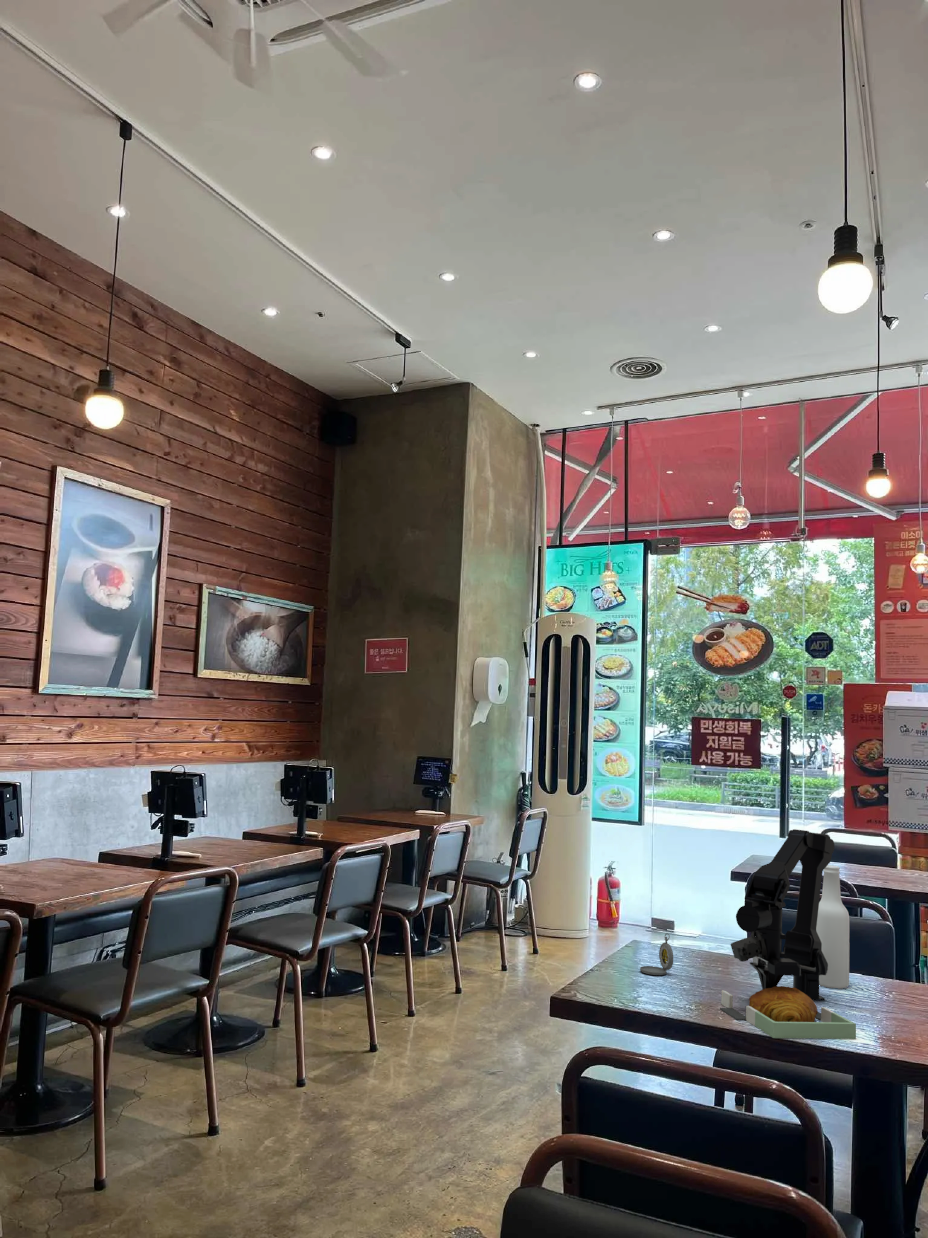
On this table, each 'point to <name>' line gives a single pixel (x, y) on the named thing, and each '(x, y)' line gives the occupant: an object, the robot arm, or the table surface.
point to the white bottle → (833, 931)
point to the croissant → (784, 1004)
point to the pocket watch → (661, 960)
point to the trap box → (795, 1023)
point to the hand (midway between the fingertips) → (767, 998)
